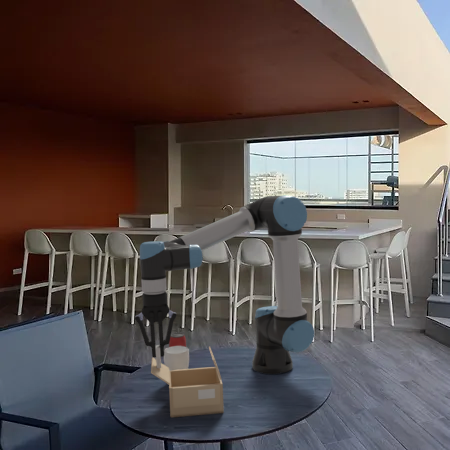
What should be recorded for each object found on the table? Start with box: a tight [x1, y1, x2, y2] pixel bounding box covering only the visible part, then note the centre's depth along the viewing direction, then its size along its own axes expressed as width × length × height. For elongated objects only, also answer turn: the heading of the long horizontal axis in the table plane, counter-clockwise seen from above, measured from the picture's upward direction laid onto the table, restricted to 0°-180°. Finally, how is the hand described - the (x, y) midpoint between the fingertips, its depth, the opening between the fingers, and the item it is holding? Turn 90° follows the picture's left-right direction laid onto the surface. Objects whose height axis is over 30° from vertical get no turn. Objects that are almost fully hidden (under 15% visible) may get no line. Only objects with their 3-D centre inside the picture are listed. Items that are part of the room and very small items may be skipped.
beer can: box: [168, 332, 187, 347], centre depth 198 cm, size 7×7×12 cm
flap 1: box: [150, 357, 170, 385], centre depth 158 cm, size 1×14×6 cm
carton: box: [168, 366, 225, 419], centre depth 160 cm, size 16×16×9 cm
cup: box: [163, 346, 190, 371], centre depth 179 cm, size 9×9×12 cm
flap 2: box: [208, 346, 222, 380], centre depth 160 cm, size 1×14×6 cm, turn 7°
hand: (158, 366), depth 158 cm, fingers closed
